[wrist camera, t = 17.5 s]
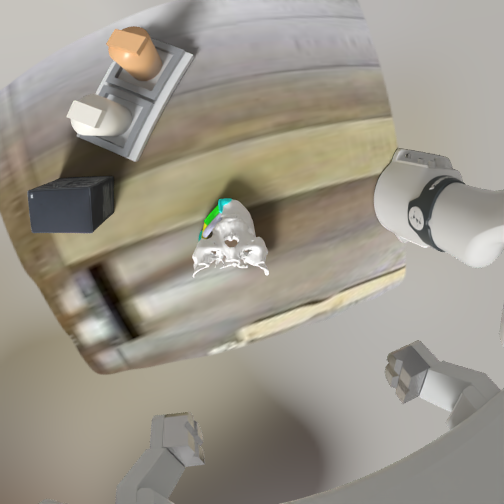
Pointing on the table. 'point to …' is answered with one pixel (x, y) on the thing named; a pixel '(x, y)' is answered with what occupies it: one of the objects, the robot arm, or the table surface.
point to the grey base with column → (128, 104)
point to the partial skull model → (229, 238)
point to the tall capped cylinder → (135, 53)
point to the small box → (71, 204)
